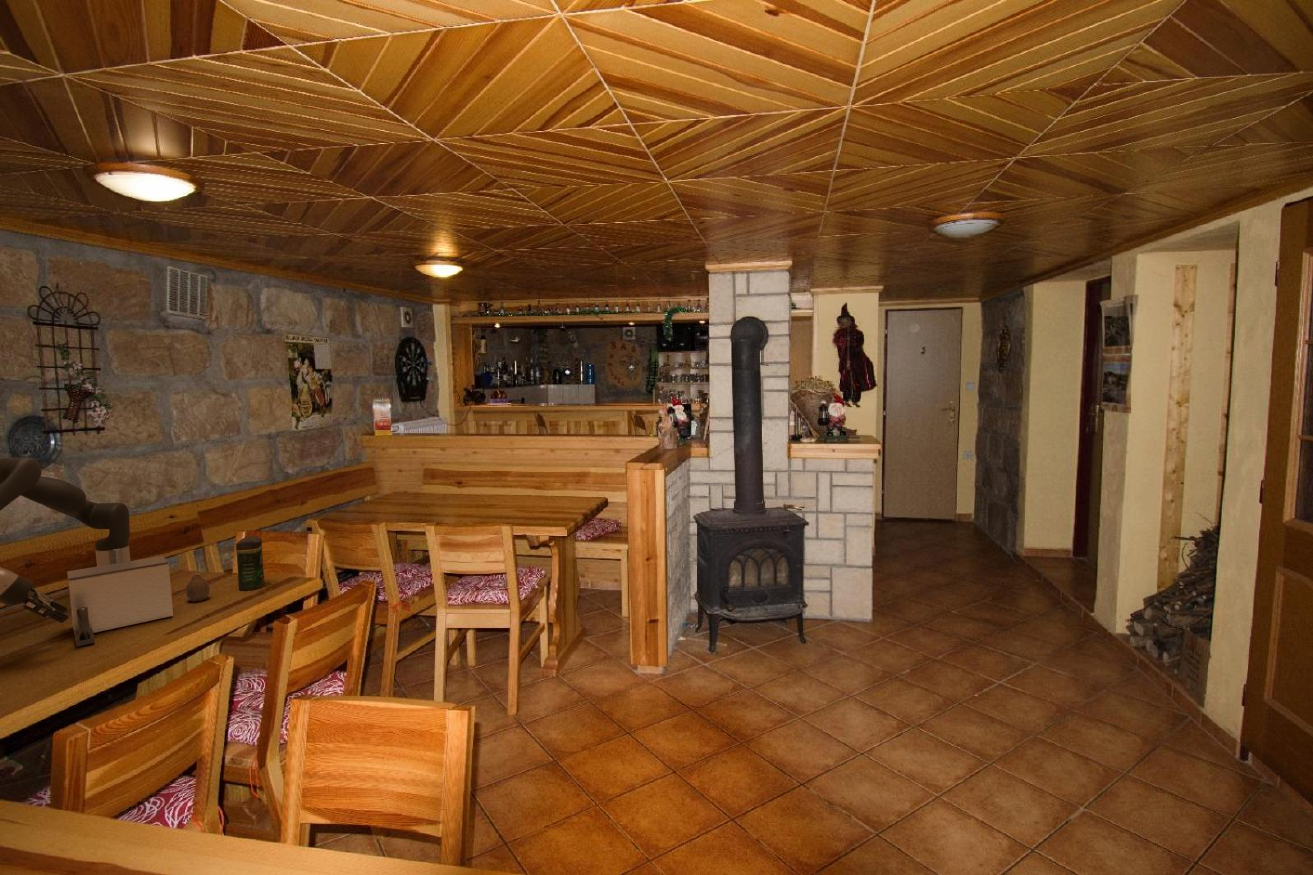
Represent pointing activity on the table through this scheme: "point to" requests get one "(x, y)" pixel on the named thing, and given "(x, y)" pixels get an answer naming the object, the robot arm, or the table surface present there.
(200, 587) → the vase
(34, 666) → the table surface
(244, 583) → the coffee jar
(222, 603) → the table surface
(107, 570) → the block
